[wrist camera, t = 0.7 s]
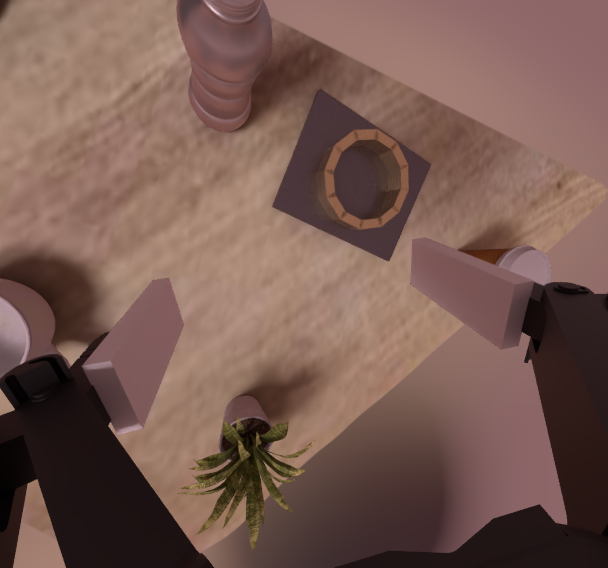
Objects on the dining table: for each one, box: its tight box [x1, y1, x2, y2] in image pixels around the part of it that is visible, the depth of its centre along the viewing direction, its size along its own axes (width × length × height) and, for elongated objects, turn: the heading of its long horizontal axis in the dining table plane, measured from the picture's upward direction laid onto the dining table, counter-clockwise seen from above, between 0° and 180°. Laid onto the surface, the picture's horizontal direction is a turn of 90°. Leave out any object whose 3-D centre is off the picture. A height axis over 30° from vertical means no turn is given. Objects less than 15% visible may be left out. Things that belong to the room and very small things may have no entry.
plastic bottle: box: [176, 0, 272, 132], centre depth 24 cm, size 6×7×20 cm
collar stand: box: [272, 89, 431, 261], centre depth 39 cm, size 20×16×4 cm
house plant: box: [177, 395, 315, 550], centre depth 34 cm, size 14×14×16 cm
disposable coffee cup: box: [461, 245, 551, 286], centre depth 44 cm, size 10×10×12 cm
